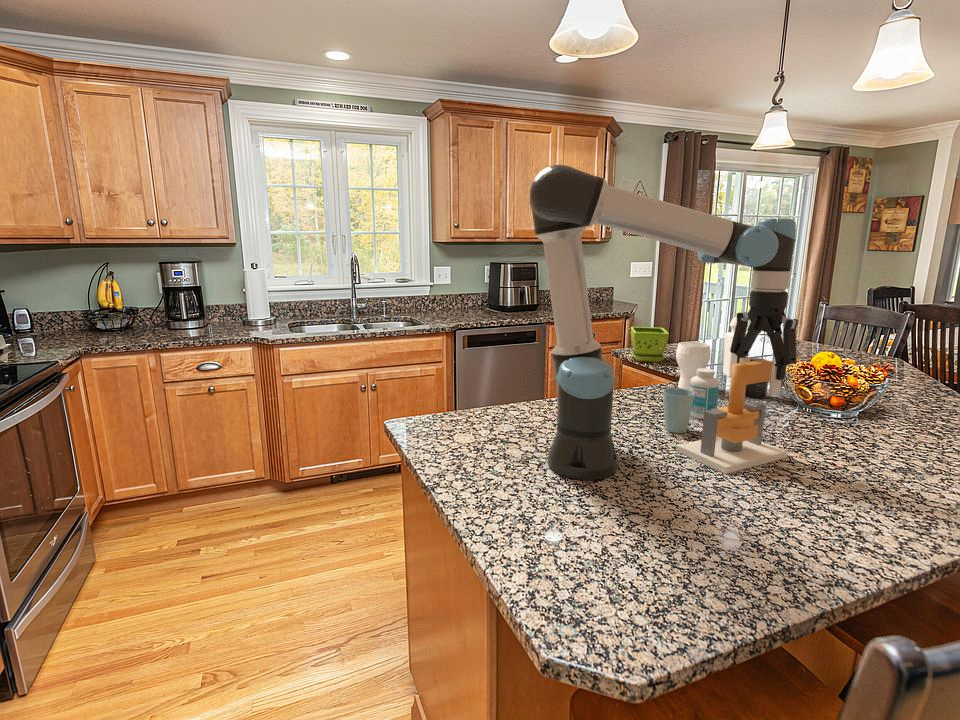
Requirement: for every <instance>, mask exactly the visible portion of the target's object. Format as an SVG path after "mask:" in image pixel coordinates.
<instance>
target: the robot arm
mask: <svg viewBox="0 0 960 720" xmlns="http://www.w3.org/2000/svg"><path fill="white" fill-rule="evenodd" d="M529 205H530V209H531V213H532V221H533V227H534V228H533V229H534V235H535V238H537V239H538V240H540V241H541V242H542V244H543V251H544V257H545V259H544V260H545V265H546V272H547V281H548V287H549V288H548V289H549V295H550V302H551V309H552V316H553V324H554V329H555V330H554V332H555V337H556V338H555V339H556V345H555V346H553V348H552V350H551V354H552V363H553V371H554V374H553V377H554V382H555V384H556V393H557V412H556V413H557V416H556V419H557V420H556V433H555V436H554V438H553V441H552V444H551V447H550V450H549V451H548V455H547V465H548V468H549V469H550V470H551V471H553V472H554V473H556V474H558V475H560V476H563V477H566V478H569V479H574V480H583V481H594V480H602V479H607V478H609V477H611V476H613V475H615V474H616V473H617V472H618V471H617V470H618V456H617V452H616V449H615V445H614V442H613V438H612V420H613V419H612V416H613V402H614V401H613V400H614V399H613V397H614V386H615V376H614V368H613V367H612V365H611V364H610V363H609V362H607V361H605V360H603V359H604V358H603V353H602V345H601V343H600V342H598V341H597V340H596V339H594V334H593V333H594V332H593V326H592V317H591V308H590V299H589V291H588V284H587V276H586V269H585V261H584V251H583V244H582V234H583V233H584V232H585V230H586V229H587V227H588V228H589V227H592V226H594V225H601V226H603V227H608V228H611V229H615V230H617V231H621V232H625V233H628V234H632V235H636V236H640V237H643V238H647V239H651V240H653V241H657V242H660V243H664V244H668V245H672V246H675V247H678V248H682V249H685V250H689V251H692V252H695V253H697V258H698V259H699V261H700V262H701V263H704V264H705V263H707V264H730V265H740V266H745V267H748V268H752V272H751V280H750V281H751V282H750V287H751V289H752V290H750V293H749V299H748V301H749V302H748V306H749V307H750V308H749V311H748V312H746V311H744V312H738V313H736V316H735V317H737V324H736V328H735V332H734V336H733V340H732V345H731V349H730V352H731V353H734V354H736V356H737V363H745V362H750V359H751V357H750V354H749V353H750V350H751V349H752V347H753V346H754V343H755V342H756V340H757V337H758V336H759V334H760V333H761V332H763V333H766V335H767V337H769V342H770V345H771V349H772V353H773V357H774V361H775V363H773V365H772V371H771V380H770V381H769V390H768V394H770V395H774V394H779V393H781V386H782V381H783V380H785V378H786V374H787V373H786V371H787V366H789V365H794V364H796V363H797V335H796V334H797V328H798V327H797V326H798V323H799V320H798V319H797V318H790V317H787V316H786V315H787V314H786V313H785V310H786V308H787V306H788V300H789V299H788V298H789V292H788V291H787V290H788V289H789V287H790V280H791V274H792V272H791V271H792V263H793V256H794V250H795V243H796V235H797V234H796V233H797V223H796V221H795V220H794V219H792V218H762V219H758V221H757V225H748V224H745V223H743V222H740V221H739V222H738V221H734V220H732V219H728V218H725V217H721V216H718V215H714V214H710V213H706V212H704V211H700V210H697V209H692V208H689V207H686V206H683V205H679V204H675V203H671V202H668V201H664V200H661V199H659V198H658V199H657V198H654V197H651V196H646V195H643V194H640V193H636V192H632V191H629V190H626V189H622V188H618V187H616V186H615V187H614V186H612V185H609V183H608V181H607V179H606V178H603V177H600V176H597V175H594V174H590V173H588V172H586V171H583V170H580V169H578V168H575V167H573V166H569V165H565V164H553V165H549V166H548V167H545V168H544V169H542V170H541V171H539V173H538V174H537V175H536V176H535V178H534V179H533V181H532V183H531V185H530V189H529ZM749 321H750V324H749ZM747 326H748V327H747ZM781 326H782V327H783V330H782V327H781ZM745 334H746V336H745ZM746 356H748V357H746Z"/></svg>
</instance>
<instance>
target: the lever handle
mask: <svg viewBox="0 0 960 720" xmlns="http://www.w3.org/2000/svg"><path fill="white" fill-rule="evenodd" d="M772 365H774V361H772V360H767V359H766V360H758V361H751V362H745V363H734V364H732V374H731V377H730V385H729V397H728V403H727V404H728V405H727V406H721V407H717V409H720V410H723V411H726V412H728V414H727V417H722V418H718V423H717V433H716V436H718V437H720V438H723V439H725V440H728V441H730V442H733V443H739V442H743V441H747V440H751V439H756V438H757V429H758V425H756V424H754V420H755V419H759V410H756V411H752V410H749V409H745V408H744V403H745V398H746V396H745V391H746V385H748V384H754V383H760V382H766V381H768V382H770V380H771V371H772Z"/></svg>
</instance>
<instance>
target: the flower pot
mask: <svg viewBox="0 0 960 720" xmlns="http://www.w3.org/2000/svg"><path fill="white" fill-rule="evenodd" d="M669 337H670V333H669V332H668V331H667V330H666V329H665V328H664V327H654V326H653V327H652V326H631V327H630V340H631V345H632V348H633V350H631V354H632V356H633V358H634V360H635V361H637V362H651V363H653V362H654V363H661V362H662V361H664V360H665V356H664V355H663V354H664V352H665V350H666V348H667V345H668V343H669V342H668V341H669Z"/></svg>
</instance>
